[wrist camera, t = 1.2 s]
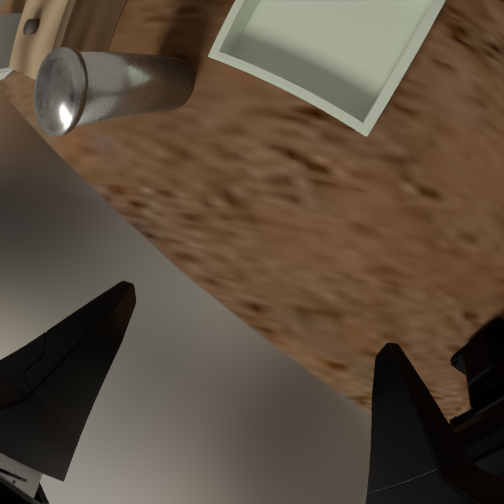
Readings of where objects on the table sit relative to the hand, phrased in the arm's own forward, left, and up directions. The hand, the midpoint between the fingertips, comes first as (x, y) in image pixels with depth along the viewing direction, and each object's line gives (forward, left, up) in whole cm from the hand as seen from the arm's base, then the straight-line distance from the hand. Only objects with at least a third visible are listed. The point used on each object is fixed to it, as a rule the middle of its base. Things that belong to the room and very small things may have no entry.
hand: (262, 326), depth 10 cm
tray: (+6, -11, -13) cm, 18 cm away
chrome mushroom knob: (+15, -2, -13) cm, 20 cm away
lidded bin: (+29, -5, -13) cm, 32 cm away
